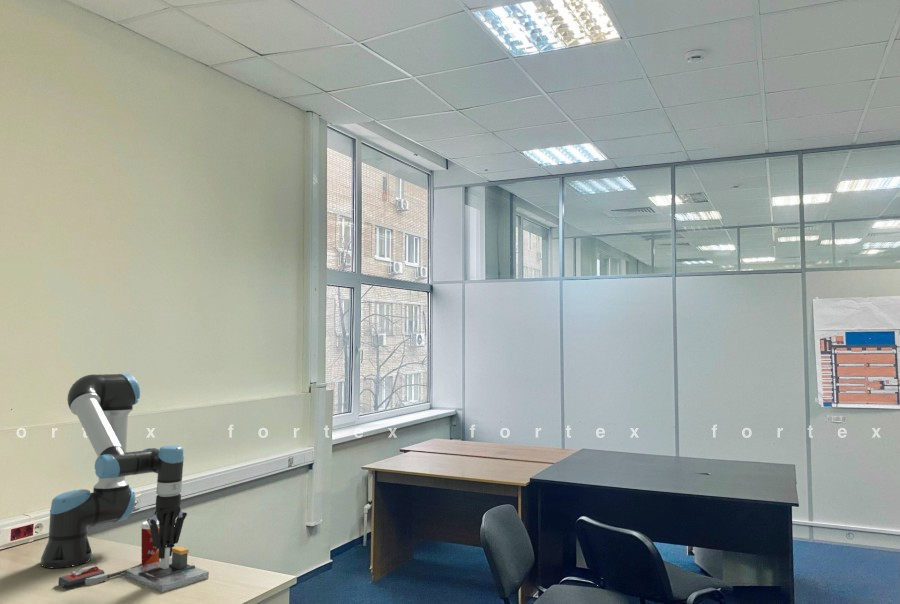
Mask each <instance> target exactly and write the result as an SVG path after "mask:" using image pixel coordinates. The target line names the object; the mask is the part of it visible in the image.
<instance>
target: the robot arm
mask: <svg viewBox="0 0 900 604" xmlns="http://www.w3.org/2000/svg"><path fill="white" fill-rule="evenodd" d="M67 393H68V394H67V404H68V408H69V409H70V411H71V413H72V414H73V415H75V416H77V418H78V421H79V422H80V424H81V426H82V428H83V431H84V432H85V433H86V436H87V439H88V440H89V442H90V444H91V447H93V449H94V452H95V454H96V456H97V458H96V459H95V461H94V462H95V463H94V470H95V471H94V472H95V475H96V477H97V478H98V481H97V482H96V483H95V485H93V487H92V488H93V490H92V491H93V492H91V491H90V489H77V490H76V489H74V490H70V491H66V492H62V493H60V494H57V495H56V496H55V497H54V498H53V499H52V501H51V504H50V505H51V506H50V510H49V525H48V526H49V527H48V541H47V544H46V546H45V548H44V550H43V552H42V554H41V555H42V556H41V558H40V566H41V565H43V566H45V567H53V568H52V569H59V568H58V567H65V568H68V567H67V566H72V565H76V566H78V565H77V564H80V565H82V564H81V563H83V564H85V563H84V562H86V561H88V560H89V559H90V560H91V559H92V556H93V553H92V548H91V543H90V541H89V538H88V529H89V527H94V526H99V525H105V524H110V523H116V522H117V523H118V522H119V521H123V520H126V519H128V518H129V517H130V516H131V515H132V513H133V511H134V508H135V505H136V494H135V490H134V489H133V487H132V486H130V483H129V481H127V480H126V477H127V476H136V475H144V474H149V473H154V474H157V480H156V491H155V492H156V493H155V494H157V495H156V496H155V511H154V515H153V516H152V517H151V518H147V520H146V521H147V522H148V524H149V525H150V530H151V536H152V542H153V546H154V547H157V548H159V558H160V568H163V569H167V568H169V559H170V558H171V557H172V548H174V547H175V545H176V544H178V543H179V540H180V537H181V533H182V529H183V527H184V526H183V525H184V522H185V519H186V518H187V516H188V513H187V512H186V511H182V509H181V504H182V503H181V502H182V494H181V492H182V484H183V483H182V482H183V472H184V471H183V468H184V460H185V459H184V458H185V456H184V448H183V446H182V445H164V446H163V445H162V446H161V447H160V448H155V447H153V448H152V447H150V448H149V447H147V448H144V449H142V450H138V451H137V450H136V451H127V441H128V440H127V438H128V420H129V419H128V418H129V416H128V415H129V413H131V412H132V411H133V409H134V408H133V407H134V405H136V404H138V403H139V401H140V397H141V388H140V384H139V381H137V378H136V377H135V376H133V375H131V374H124V373H117V374H116V373H114V374H113V373H112V374H108V373H107V374H94V373H93V374H87V375H84V376H81V377H80V378H78V379H77V380H75V382H74V383H73V384H72V385H71V387H70V388H69V390H68V392H67ZM157 520H158V521H159V532H158V526H157ZM90 560H89V561H90ZM89 561H88V562H89ZM86 563H87V562H86ZM45 567H44V568H45ZM72 567H73V566H72Z"/></svg>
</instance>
